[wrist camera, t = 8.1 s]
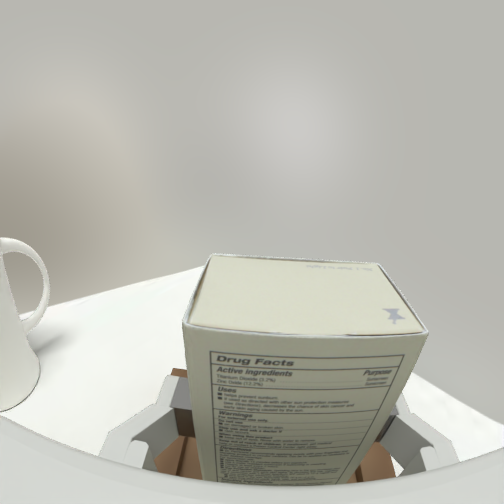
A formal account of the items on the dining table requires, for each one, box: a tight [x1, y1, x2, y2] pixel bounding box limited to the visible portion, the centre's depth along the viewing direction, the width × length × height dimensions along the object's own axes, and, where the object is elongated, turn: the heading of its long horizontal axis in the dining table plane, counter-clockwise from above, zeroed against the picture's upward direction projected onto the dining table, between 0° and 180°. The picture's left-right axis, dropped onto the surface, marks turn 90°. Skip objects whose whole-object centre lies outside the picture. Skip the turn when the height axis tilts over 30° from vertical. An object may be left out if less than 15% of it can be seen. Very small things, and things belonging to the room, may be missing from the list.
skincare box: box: [182, 253, 429, 486], centre depth 11 cm, size 6×4×12 cm
